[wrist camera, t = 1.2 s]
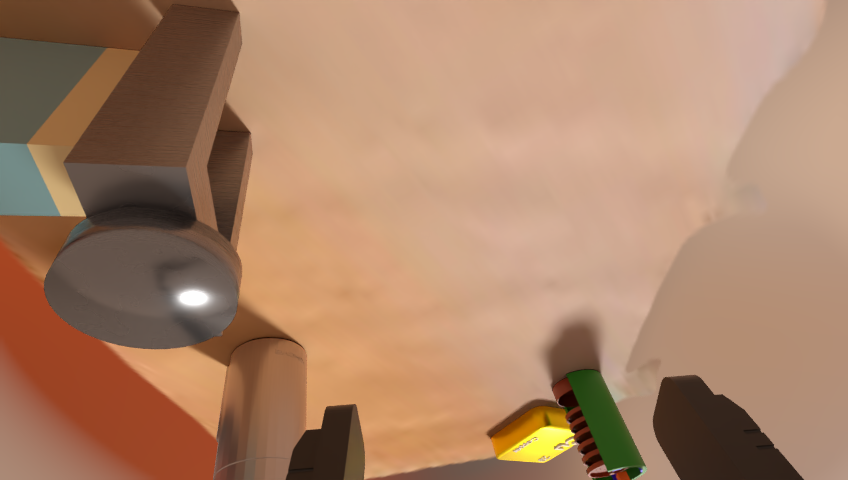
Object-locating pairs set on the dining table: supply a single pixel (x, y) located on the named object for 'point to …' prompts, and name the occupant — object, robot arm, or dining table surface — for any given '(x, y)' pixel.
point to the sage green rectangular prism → (49, 118)
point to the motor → (598, 427)
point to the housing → (159, 195)
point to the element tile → (534, 436)
